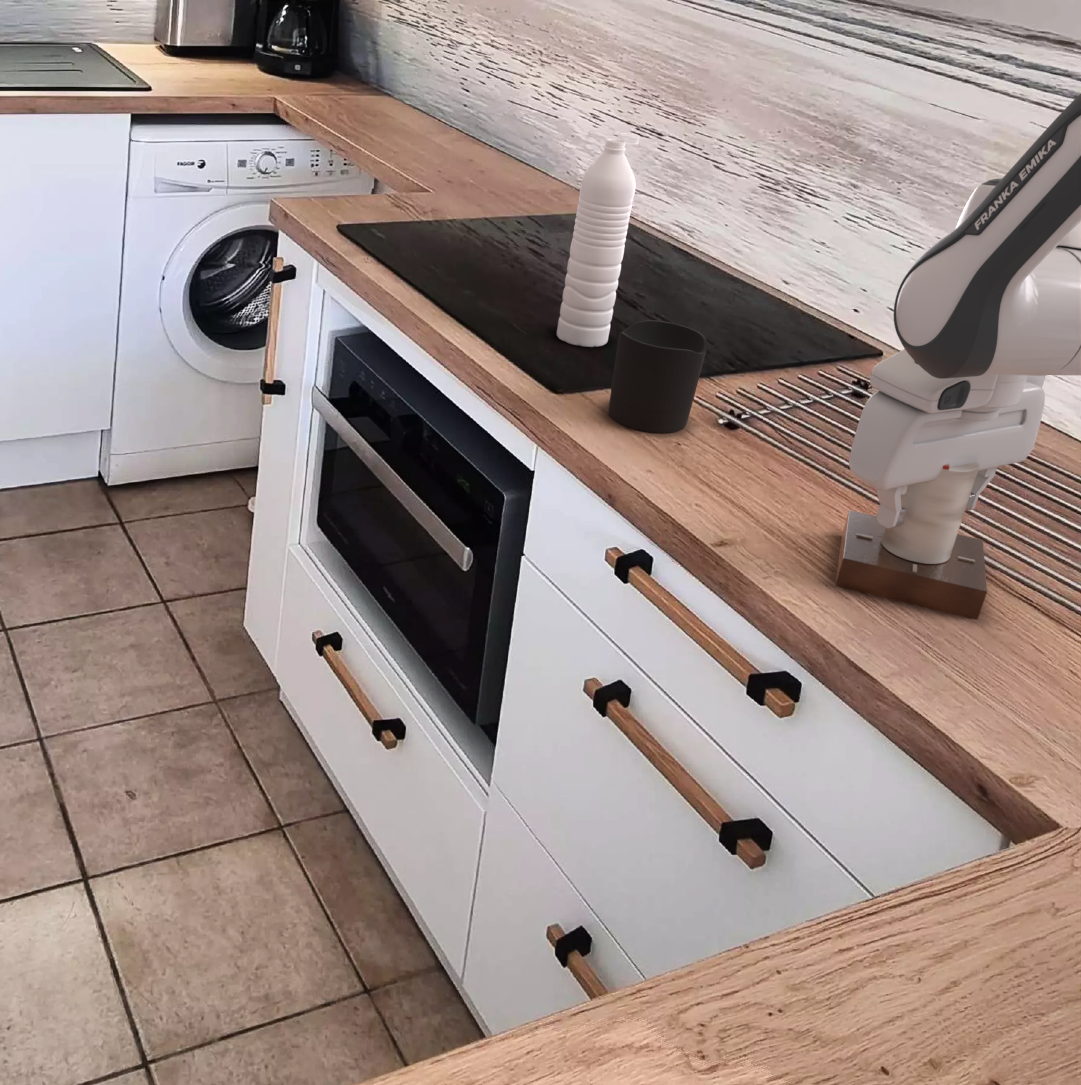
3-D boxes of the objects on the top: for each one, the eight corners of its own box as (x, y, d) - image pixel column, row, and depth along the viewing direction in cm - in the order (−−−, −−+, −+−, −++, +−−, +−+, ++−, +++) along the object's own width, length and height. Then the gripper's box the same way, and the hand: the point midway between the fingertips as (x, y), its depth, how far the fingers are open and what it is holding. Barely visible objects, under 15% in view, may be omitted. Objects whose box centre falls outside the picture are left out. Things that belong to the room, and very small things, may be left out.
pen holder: (705, 435, 155) (724, 348, 150) (628, 439, 152) (646, 350, 147) (663, 402, 163) (680, 319, 158) (589, 405, 160) (605, 320, 155)
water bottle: (595, 352, 176) (631, 148, 165) (547, 339, 179) (580, 137, 167) (622, 335, 183) (658, 138, 171) (575, 323, 186) (608, 128, 174)
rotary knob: (879, 527, 131) (907, 434, 126) (948, 541, 129) (978, 448, 125) (881, 555, 125) (909, 459, 121) (951, 570, 124) (983, 473, 120)
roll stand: (973, 568, 132) (983, 538, 130) (977, 621, 123) (987, 590, 121) (841, 537, 135) (849, 508, 134) (834, 588, 126) (843, 556, 124)
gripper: (1018, 346, 127) (973, 485, 133) (858, 368, 117) (818, 518, 123) (1080, 370, 122) (1030, 514, 129) (919, 396, 112) (873, 550, 119)
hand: (925, 516), depth 126 cm, fingers open, 8 cm apart
